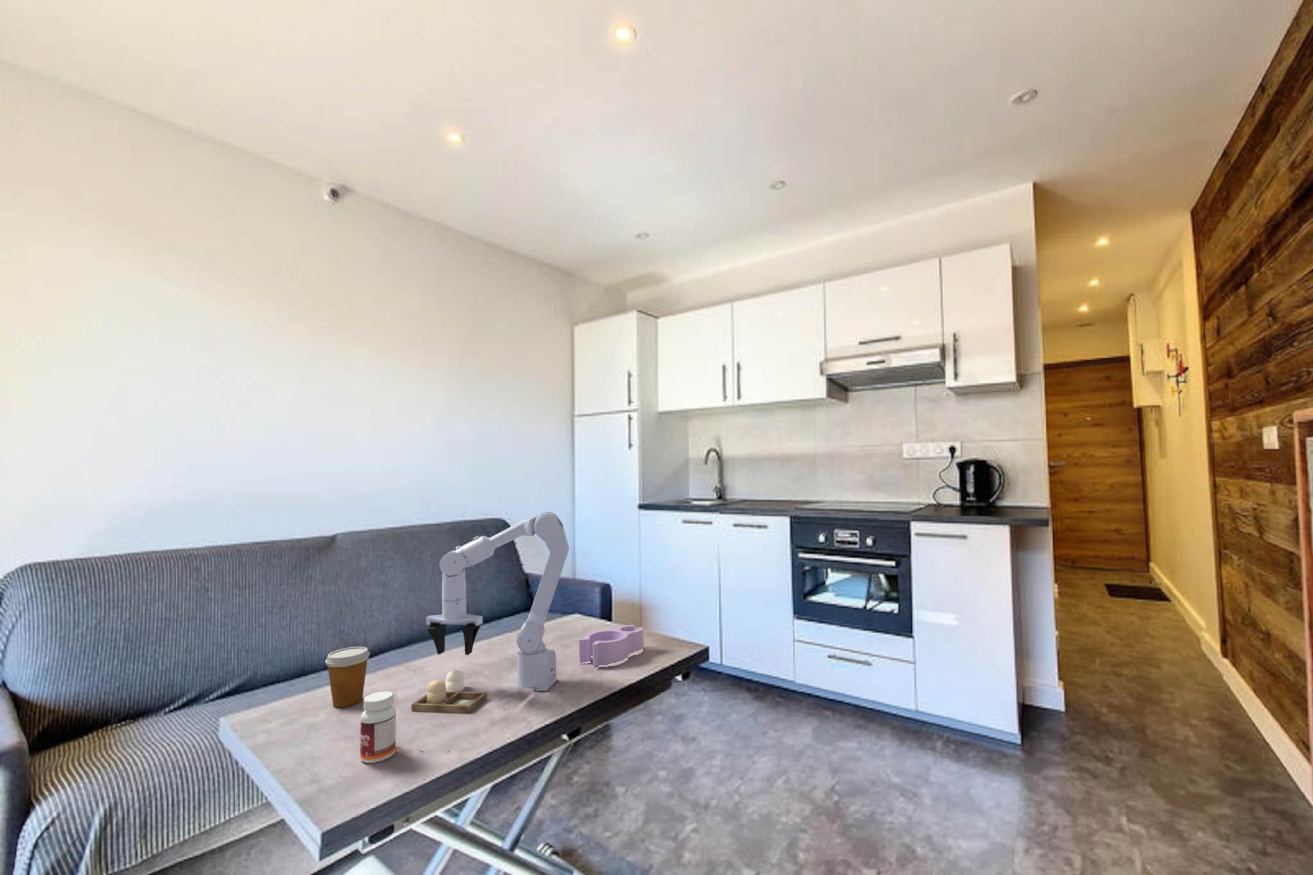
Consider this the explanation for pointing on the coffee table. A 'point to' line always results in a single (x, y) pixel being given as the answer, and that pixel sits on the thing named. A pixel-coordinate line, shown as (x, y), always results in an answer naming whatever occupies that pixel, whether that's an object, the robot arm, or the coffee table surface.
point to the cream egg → (455, 680)
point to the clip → (610, 645)
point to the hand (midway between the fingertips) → (454, 653)
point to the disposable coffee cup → (347, 675)
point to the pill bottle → (378, 728)
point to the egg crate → (451, 698)
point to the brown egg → (436, 692)
